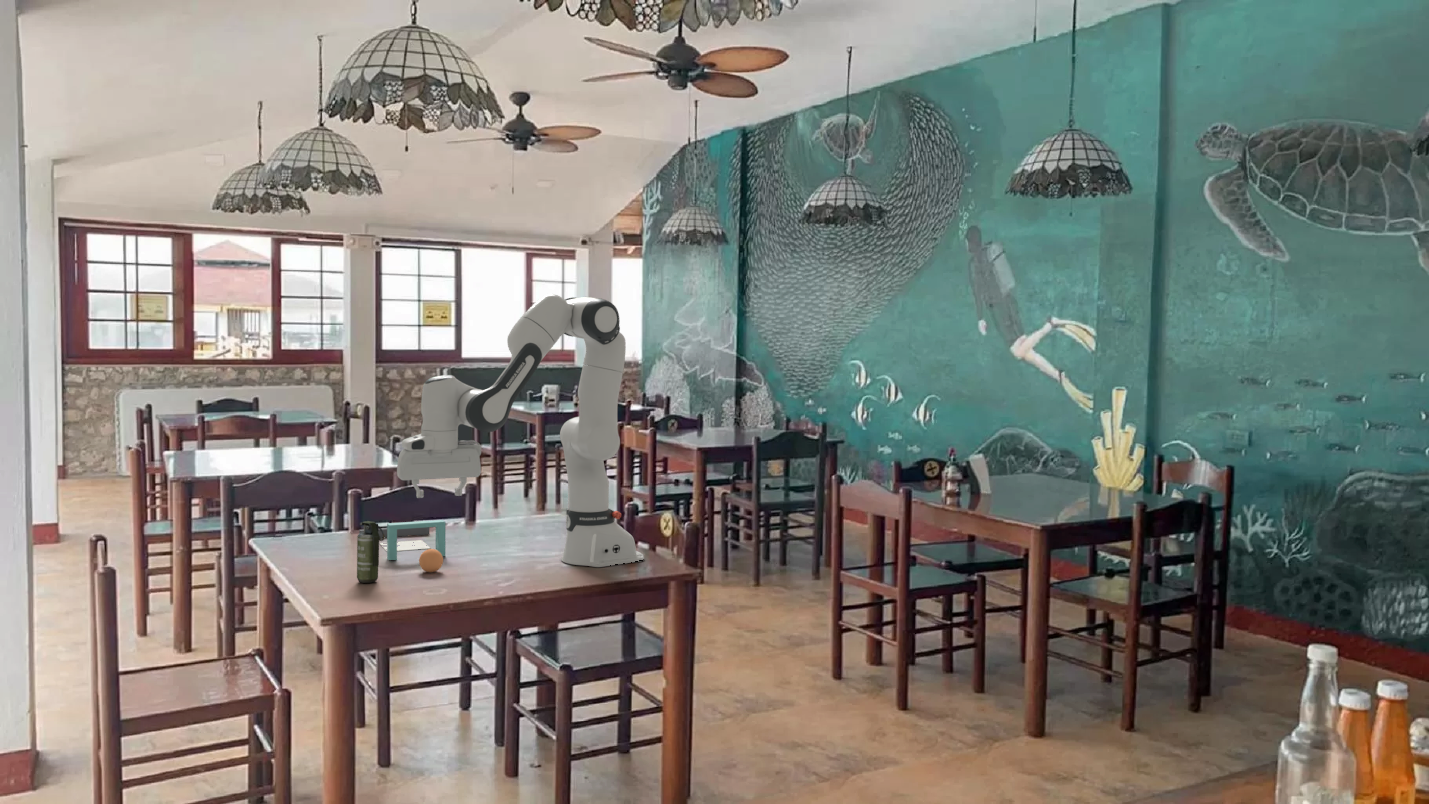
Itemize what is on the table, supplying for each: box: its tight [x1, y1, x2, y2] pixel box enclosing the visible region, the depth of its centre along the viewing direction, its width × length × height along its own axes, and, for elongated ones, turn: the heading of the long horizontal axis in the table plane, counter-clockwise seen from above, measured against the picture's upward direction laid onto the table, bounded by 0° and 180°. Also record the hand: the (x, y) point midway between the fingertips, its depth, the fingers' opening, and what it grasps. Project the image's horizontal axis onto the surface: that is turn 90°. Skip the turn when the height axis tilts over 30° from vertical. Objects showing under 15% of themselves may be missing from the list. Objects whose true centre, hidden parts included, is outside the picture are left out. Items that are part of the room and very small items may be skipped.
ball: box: [418, 548, 444, 573], centre depth 281 cm, size 6×6×6 cm
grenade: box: [356, 520, 385, 584], centre depth 269 cm, size 6×6×15 cm
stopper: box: [358, 527, 430, 539], centre depth 325 cm, size 20×2×2 cm, turn 117°
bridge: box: [386, 519, 447, 561], centre depth 297 cm, size 3×15×10 cm, turn 117°
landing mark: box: [379, 539, 432, 552], centre depth 312 cm, size 12×12×1 cm
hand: (439, 496), depth 271 cm, fingers open, 8 cm apart
